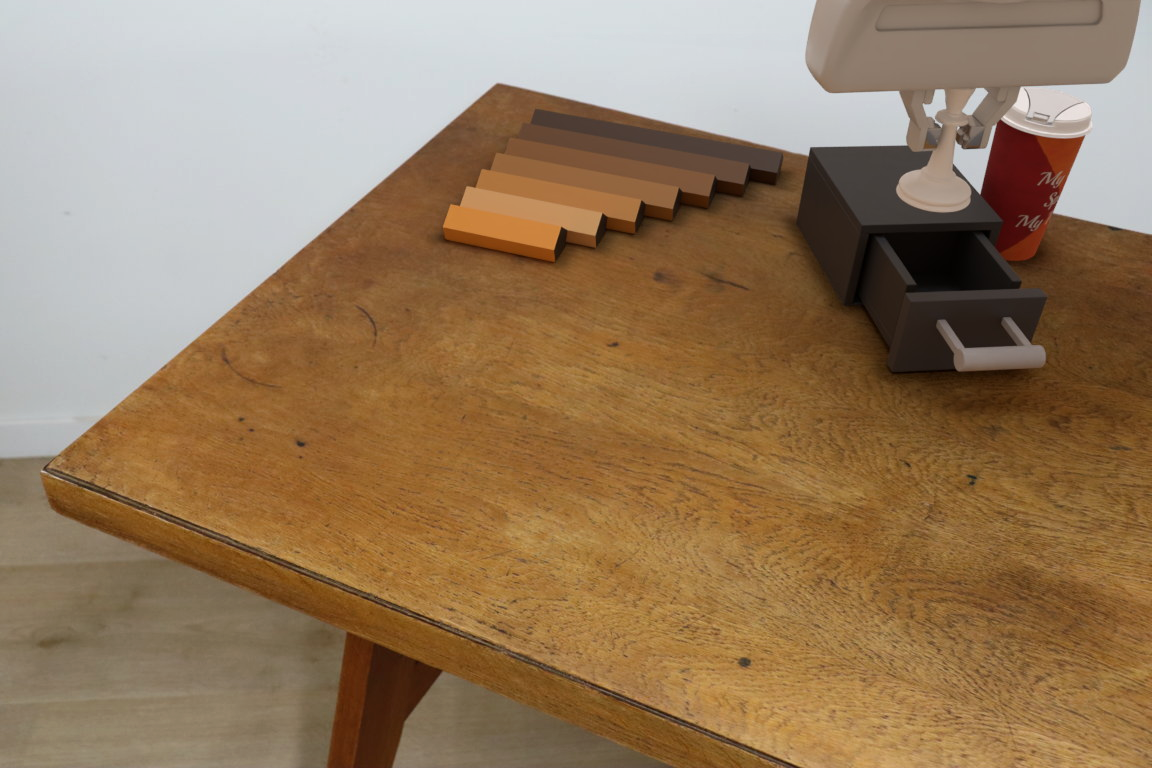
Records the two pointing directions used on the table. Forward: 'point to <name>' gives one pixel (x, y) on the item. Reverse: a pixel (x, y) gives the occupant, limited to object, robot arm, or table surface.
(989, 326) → the drawer
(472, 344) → the table surface
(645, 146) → the pan flute
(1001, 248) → the paper cup
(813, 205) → the small storage cabinet
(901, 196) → the chess piece
